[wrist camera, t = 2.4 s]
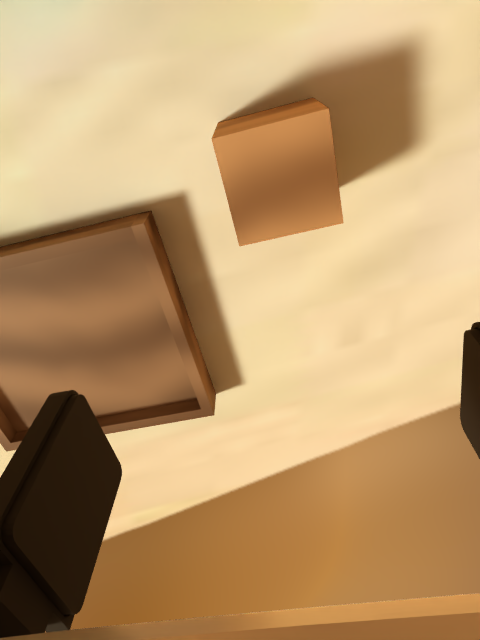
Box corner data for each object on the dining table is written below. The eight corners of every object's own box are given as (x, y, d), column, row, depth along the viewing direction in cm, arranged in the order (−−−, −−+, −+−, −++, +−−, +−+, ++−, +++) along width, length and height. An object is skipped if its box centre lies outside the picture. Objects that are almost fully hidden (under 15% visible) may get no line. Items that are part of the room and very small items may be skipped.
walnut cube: (218, 122, 25) (211, 138, 21) (313, 97, 25) (328, 108, 20) (240, 213, 28) (239, 246, 23) (326, 193, 27) (343, 223, 23)
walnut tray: (-92, 269, 30) (-117, 285, 28) (151, 210, 28) (143, 223, 26) (19, 429, 38) (6, 451, 36) (215, 394, 36) (213, 415, 34)
